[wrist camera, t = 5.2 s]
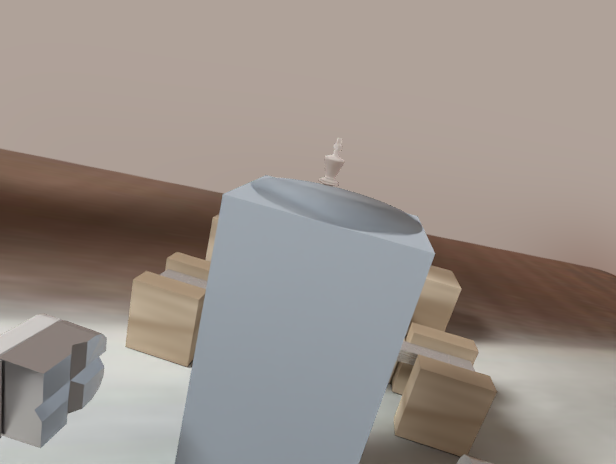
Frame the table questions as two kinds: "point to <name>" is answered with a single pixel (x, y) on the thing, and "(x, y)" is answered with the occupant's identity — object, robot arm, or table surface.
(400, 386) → the light wooden frame
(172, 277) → the plunger
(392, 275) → the peg
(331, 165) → the chess piece
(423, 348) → the plunger
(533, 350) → the table surface
